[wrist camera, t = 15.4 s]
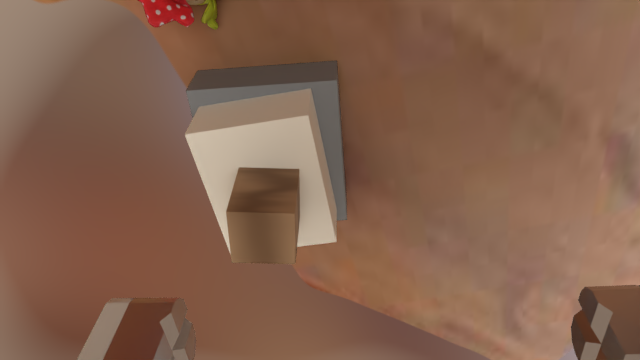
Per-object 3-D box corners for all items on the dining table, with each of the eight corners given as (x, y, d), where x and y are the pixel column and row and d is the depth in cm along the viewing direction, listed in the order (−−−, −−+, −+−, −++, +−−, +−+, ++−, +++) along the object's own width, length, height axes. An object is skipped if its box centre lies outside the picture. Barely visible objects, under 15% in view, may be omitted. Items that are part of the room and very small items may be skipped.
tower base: (337, 58, 47) (337, 80, 43) (346, 191, 55) (346, 219, 51) (198, 68, 48) (185, 90, 44) (228, 197, 56) (219, 226, 52)
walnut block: (299, 168, 42) (294, 213, 37) (299, 216, 45) (295, 264, 40) (238, 167, 42) (225, 211, 37) (243, 215, 45) (231, 262, 40)
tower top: (310, 88, 43) (308, 115, 39) (336, 208, 50) (336, 241, 46) (198, 106, 45) (184, 134, 40) (239, 221, 52) (230, 255, 48)
